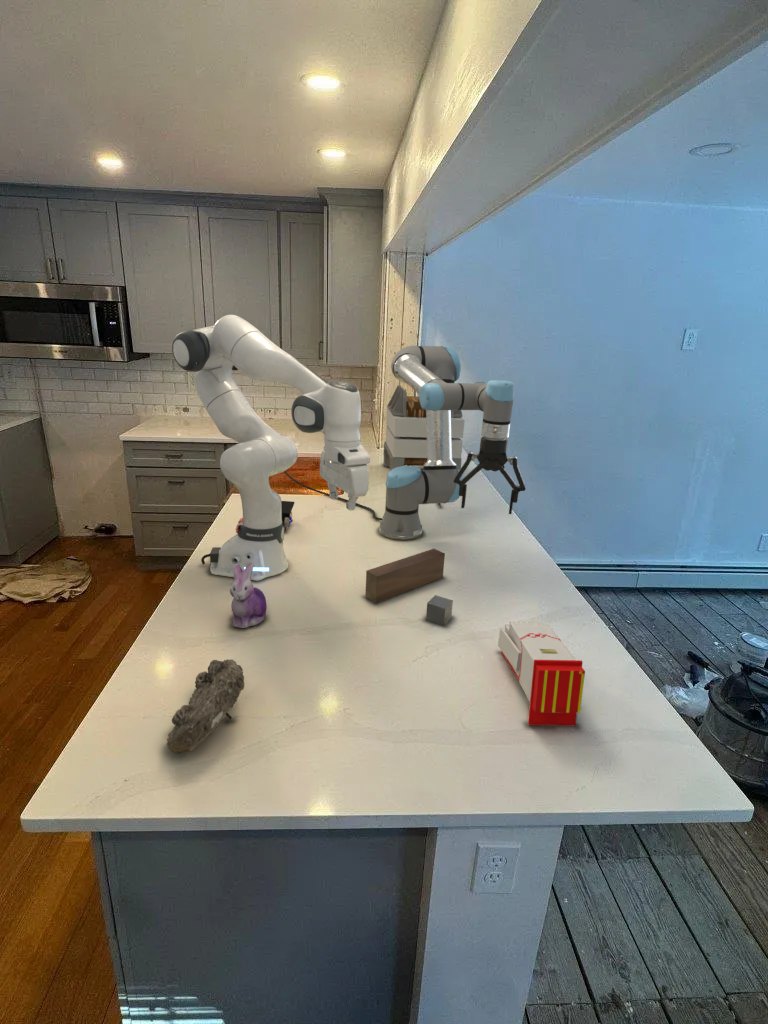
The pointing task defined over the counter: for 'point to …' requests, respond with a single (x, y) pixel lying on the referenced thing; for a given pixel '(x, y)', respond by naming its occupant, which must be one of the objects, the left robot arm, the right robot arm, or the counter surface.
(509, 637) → the toy
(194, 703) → the fossil
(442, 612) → the slate block
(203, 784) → the counter surface
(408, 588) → the walnut plank
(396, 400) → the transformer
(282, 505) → the figurine character
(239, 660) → the counter surface
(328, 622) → the counter surface
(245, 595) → the figurine
